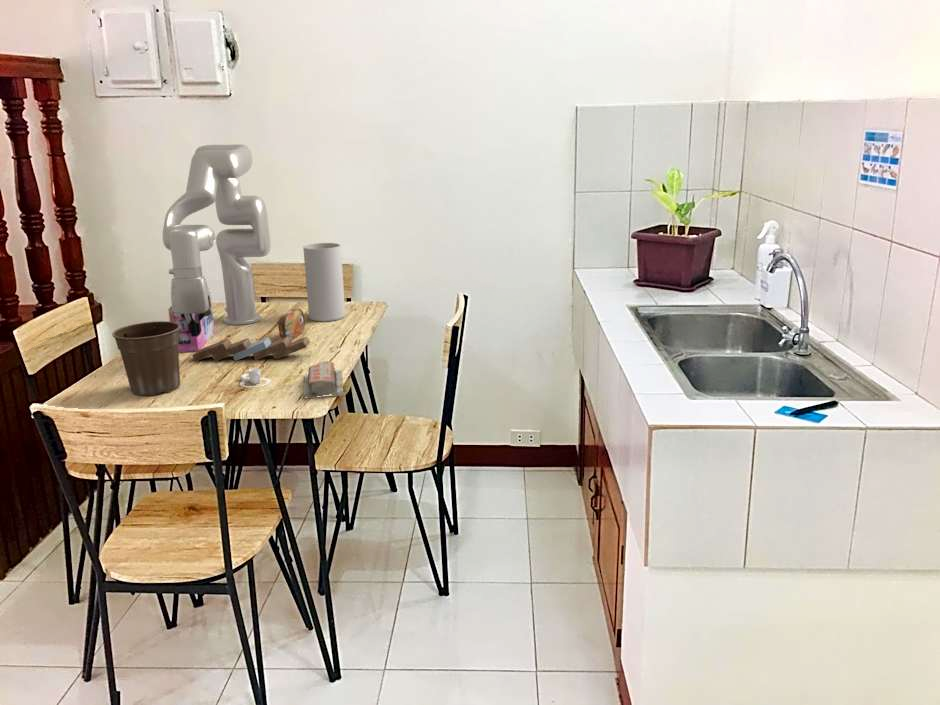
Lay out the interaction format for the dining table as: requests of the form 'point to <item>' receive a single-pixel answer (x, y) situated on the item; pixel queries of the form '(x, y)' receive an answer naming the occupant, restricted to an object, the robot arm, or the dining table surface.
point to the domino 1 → (212, 349)
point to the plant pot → (150, 356)
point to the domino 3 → (253, 348)
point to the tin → (291, 324)
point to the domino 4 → (273, 348)
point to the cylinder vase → (324, 281)
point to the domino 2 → (233, 349)
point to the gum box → (185, 338)
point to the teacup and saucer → (253, 378)
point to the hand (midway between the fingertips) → (195, 335)
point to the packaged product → (323, 380)
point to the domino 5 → (292, 347)
